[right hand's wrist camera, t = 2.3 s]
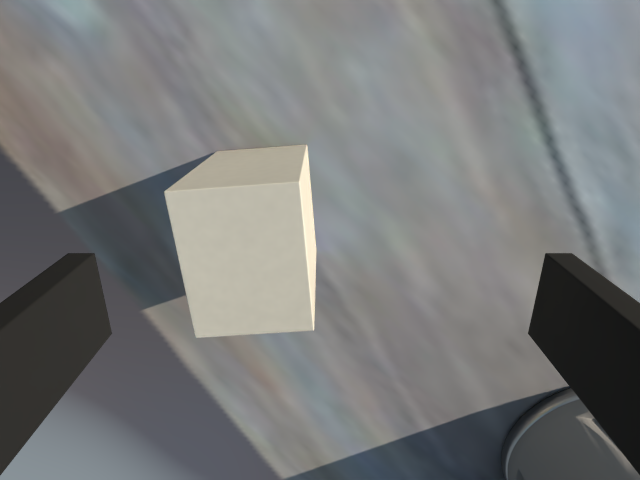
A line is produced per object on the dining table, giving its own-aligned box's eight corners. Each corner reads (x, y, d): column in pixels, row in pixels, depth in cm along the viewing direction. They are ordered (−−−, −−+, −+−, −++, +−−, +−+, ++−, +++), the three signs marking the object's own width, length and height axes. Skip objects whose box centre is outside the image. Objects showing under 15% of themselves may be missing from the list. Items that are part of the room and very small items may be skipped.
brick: (307, 144, 29) (299, 181, 19) (316, 251, 32) (313, 331, 22) (216, 151, 29) (163, 191, 19) (233, 256, 32) (195, 338, 22)
